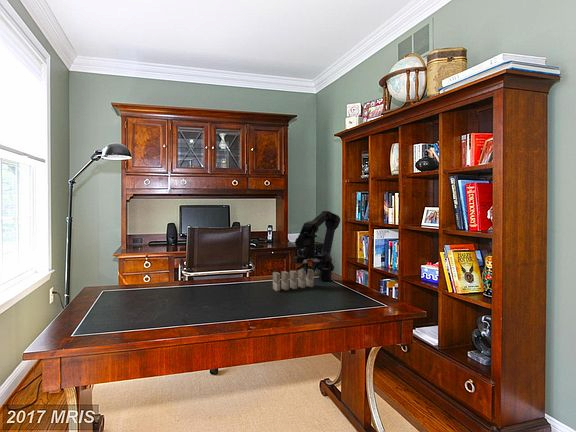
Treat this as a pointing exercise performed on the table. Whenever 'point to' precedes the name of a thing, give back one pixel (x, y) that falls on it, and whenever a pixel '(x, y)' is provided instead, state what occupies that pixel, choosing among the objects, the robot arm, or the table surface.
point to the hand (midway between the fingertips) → (309, 274)
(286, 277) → the domino
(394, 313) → the table surface
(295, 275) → the domino
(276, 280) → the domino
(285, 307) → the table surface
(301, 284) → the domino
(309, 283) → the domino
